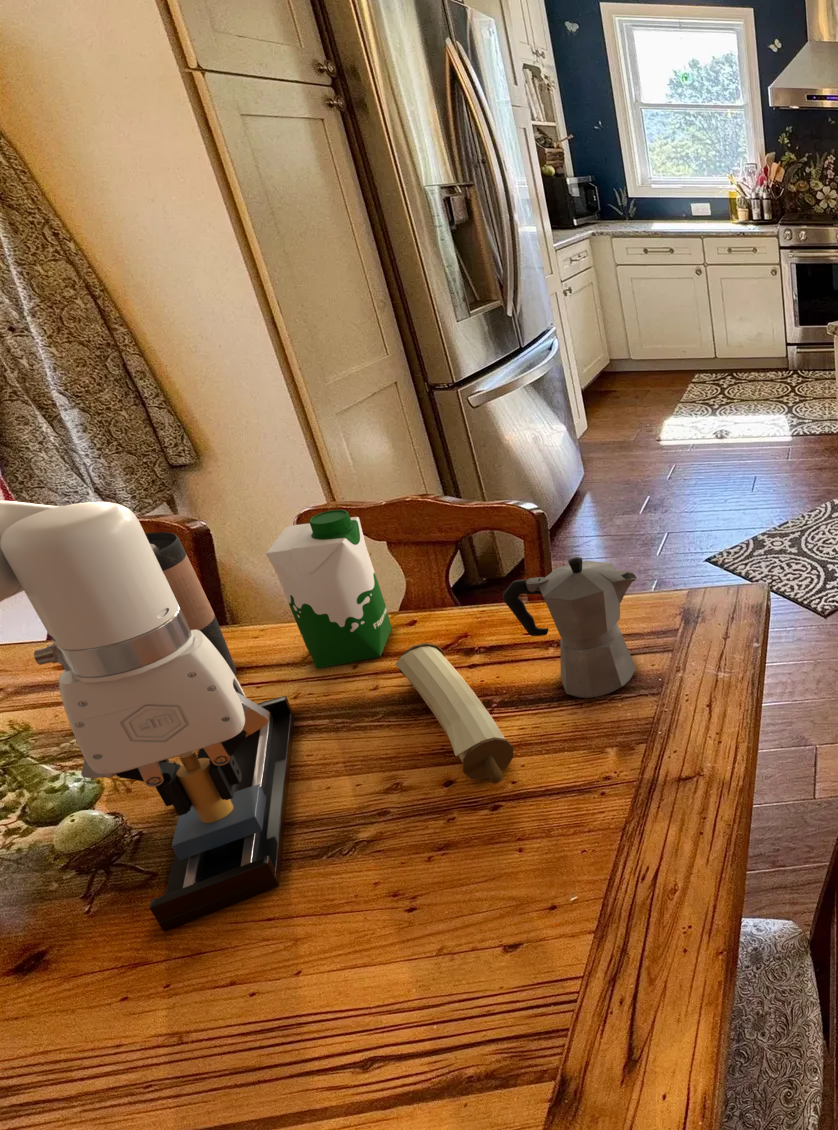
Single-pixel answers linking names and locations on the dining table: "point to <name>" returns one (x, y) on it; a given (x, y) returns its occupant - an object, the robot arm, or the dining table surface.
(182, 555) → the travel mug
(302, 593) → the milk carton
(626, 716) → the dining table surface
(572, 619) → the coffeepot
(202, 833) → the sliding carriage
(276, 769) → the rail
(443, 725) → the cream curved cylinder
